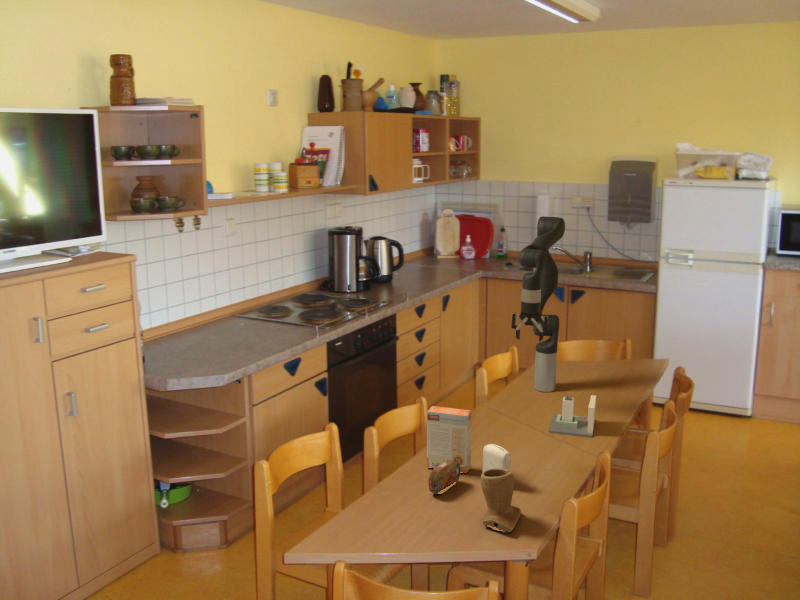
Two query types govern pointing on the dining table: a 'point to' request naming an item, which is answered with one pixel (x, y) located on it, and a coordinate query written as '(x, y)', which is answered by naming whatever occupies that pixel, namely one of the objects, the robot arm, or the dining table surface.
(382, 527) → the dining table surface
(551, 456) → the dining table surface
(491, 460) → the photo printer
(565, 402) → the block
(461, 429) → the cracker box
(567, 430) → the wall outlet
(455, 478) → the tin
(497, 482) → the stone cup
